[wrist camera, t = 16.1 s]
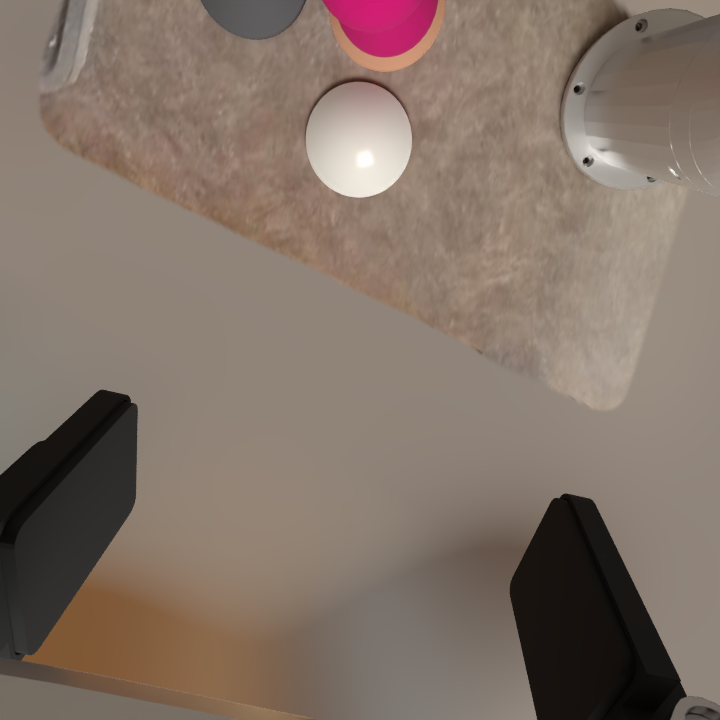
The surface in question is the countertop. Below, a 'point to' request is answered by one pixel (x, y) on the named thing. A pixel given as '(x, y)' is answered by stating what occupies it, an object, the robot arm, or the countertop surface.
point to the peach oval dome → (395, 61)
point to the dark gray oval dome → (254, 16)
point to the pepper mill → (384, 23)
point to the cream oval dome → (358, 139)
